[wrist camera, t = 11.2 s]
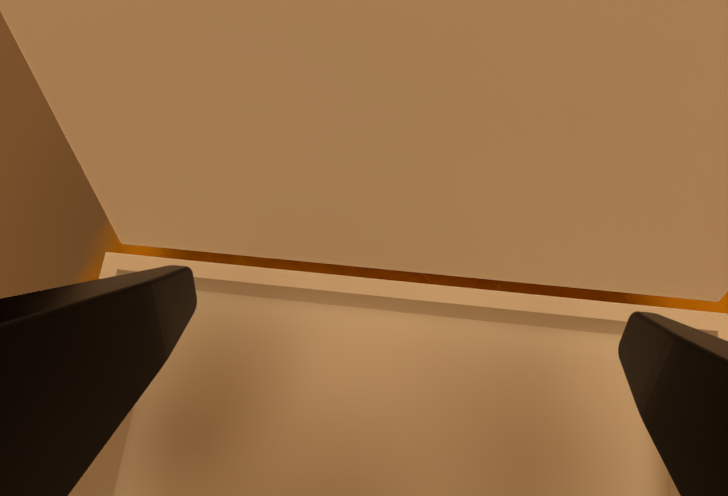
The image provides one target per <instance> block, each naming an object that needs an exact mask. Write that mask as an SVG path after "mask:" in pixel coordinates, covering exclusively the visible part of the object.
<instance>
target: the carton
mask: <svg viewBox="0 0 728 496" xmlns="http://www.w3.org/2000/svg"><path fill="white" fill-rule="evenodd" d="M168 265H179V266H187V267H189V268H191V270H192V272H193V277H194V283H195V289H196V295H197V306H196V310H195V312H194V314H193V316H192V318H191V319H190V321H189V323H188V325H187V326H186V328H185V330H184V332H183V334H182V335H181V337H180V339H179V341H178V342H177V344H176V346H175V348H174V350H173V351H172V353H171V355H170V356H169V358H168V360H167V361H166V362H165V364H164V365H163V367H162V368H161V370H160V371H159V372H158V374H157V375H156V376H155V378H154V379H153V381H152V382H151V383H150V385H149V386H148V387H147V389H146V390H145V391H144V393H143V394H142V396H141V397H140V398H139V400H138V401H137V402H136V404H135V405H134V406H133V408H132V409H131V411H130V412H129V413H128V415H127V416H126V417H125V419H124V420H123V421H122V423H121V424H120V426H119V427H118V428H117V430H116V431H115V432H114V434H113V435H112V436H111V438H110V439H109V441H108V442H107V443H106V445H105V446H104V447H103V449H102V450H101V451H100V453H99V454H98V456H97V457H96V458H95V460H94V461H93V462H92V464H91V465H90V466H89V468H88V469H87V471H86V472H85V473H84V475H83V476H82V477H81V479H80V480H79V481H78V483H77V484H76V486H75V487H74V488H73V490H72V491H71V492H70V494H69V495H68V496H680V494H679V492H678V490H677V488H676V486H675V484H674V482H673V480H672V478H671V476H670V474H669V472H668V470H667V468H666V466H665V464H664V462H663V460H662V458H661V457H660V455H659V453H658V451H657V449H656V447H655V445H654V443H653V441H652V439H651V437H650V435H649V433H648V431H647V429H646V427H645V425H644V423H643V421H642V418H641V416H640V414H639V411H638V409H637V406H636V404H635V401H634V398H633V395H632V393H631V390H630V387H629V384H628V382H627V379H626V376H625V373H624V370H623V368H622V365H621V362H620V359H619V355H618V346H619V342H620V340H621V337H622V334H623V332H624V329H625V327H626V324H627V321H628V319H629V317H630V315H631V314H632V313H633V312H636V311H640V312H650V313H656V314H659V315H662V316H664V317H667V318H669V319H672V320H675V321H677V322H680V323H682V324H685V325H687V326H690V327H693V328H695V329H698V330H700V331H703V332H706V333H708V334H711V335H713V336H716V337H718V338H721V339H724V340H726V341H728V314H726V313H715V312H705V311H695V310H685V309H675V308H665V307H655V306H645V305H635V304H625V303H615V302H605V301H595V300H585V299H574V298H564V297H554V296H544V295H534V294H524V293H514V292H504V291H494V290H484V289H474V288H464V287H454V286H444V285H434V284H423V283H413V282H403V281H393V280H383V279H373V278H363V277H353V276H343V275H333V274H323V273H313V272H303V271H293V270H282V269H272V268H262V267H252V266H242V265H232V264H222V263H212V262H202V261H192V260H182V259H172V258H162V257H152V256H142V255H131V254H121V253H111V252H106V254H105V258H104V261H103V265H102V269H101V273H100V276H99V279H103V278H108V277H113V276H118V275H123V274H128V273H133V272H138V271H143V270H148V269H153V268H158V267H163V266H168Z"/></svg>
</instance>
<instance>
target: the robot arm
mask: <svg viewBox="0 0 728 496" xmlns="http://www.w3.org/2000/svg"><path fill="white" fill-rule="evenodd" d="M196 306H197V295H196V289H195V283H194V277H193V272H192V270H191V268H189V267H187V266H179V265H168V266H163V267H158V268H153V269H148V270H143V271H138V272H133V273H128V274H123V275H118V276H113V277H108V278H103V279H98V280H93V281H88V282H83V283H77V284H72V285H67V286H62V287H57V288H52V289H47V290H43V291H37V292H32V293H27V294H22V295H17V296H12V297H7V298H2V299H0V496H68V495H69V494H70V492H71V491H72V490H73V488H74V487H75V486H76V484H77V483H78V481H79V480H80V479H81V477H82V476H83V475H84V473H85V472H86V471H87V469H88V468H89V466H90V465H91V464H92V462H93V461H94V460H95V458H96V457H97V456H98V454H99V453H100V451H101V450H102V449H103V447H104V446H105V445H106V443H107V442H108V441H109V439H110V438H111V436H112V435H113V434H114V432H115V431H116V430H117V428H118V427H119V426H120V424H121V423H122V421H123V420H124V419H125V417H126V416H127V415H128V413H129V412H130V411H131V409H132V408H133V406H134V405H135V404H136V402H137V401H138V400H139V398H140V397H141V396H142V394H143V393H144V391H145V390H146V389H147V387H148V386H149V385H150V383H151V382H152V381H153V379H154V378H155V376H156V375H157V374H158V372H159V371H160V370H161V368H162V367H163V365H164V364H165V362H166V361H167V360H168V358H169V356H170V355H171V353H172V351H173V350H174V348H175V346H176V344H177V342H178V341H179V339H180V337H181V335H182V334H183V332H184V330H185V328H186V326H187V325H188V323H189V321H190V319H191V318H192V316H193V314H194V312H195V310H196ZM618 355H619V359H620V362H621V365H622V368H623V370H624V373H625V376H626V379H627V382H628V384H629V387H630V390H631V393H632V395H633V398H634V401H635V404H636V406H637V409H638V411H639V414H640V416H641V418H642V421H643V423H644V425H645V427H646V429H647V431H648V433H649V435H650V437H651V439H652V441H653V443H654V445H655V447H656V449H657V451H658V453H659V455H660V457H661V458H662V460H663V462H664V464H665V466H666V468H667V470H668V472H669V474H670V476H671V478H672V480H673V482H674V484H675V486H676V488H677V490H678V492H679V494H680V496H728V341H726V340H724V339H721V338H718V337H716V336H713V335H711V334H708V333H706V332H703V331H700V330H698V329H695V328H693V327H690V326H687V325H685V324H682V323H680V322H677V321H675V320H672V319H669V318H667V317H664V316H662V315H659V314H656V313H650V312H640V311H636V312H633V313H632V314H631V315H630V317H629V319H628V321H627V324H626V327H625V329H624V332H623V334H622V337H621V340H620V342H619V346H618Z"/></svg>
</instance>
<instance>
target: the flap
mask: <svg viewBox="0 0 728 496" xmlns="http://www.w3.org/2000/svg"><path fill="white" fill-rule="evenodd" d="M0 11H1V13H2V15H3V17H4V19H5V21H6V23H7V25H8V27H9V28H10V31H11V32H12V34H13V36H14V38H15V40H16V42H17V44H18V46H19V48H20V50H21V52H22V54H23V56H24V57H25V59H26V61H27V63H28V65H29V67H30V69H31V71H32V73H33V75H34V76H35V79H36V81H37V83H38V84H39V86H40V88H41V90H42V92H43V94H44V96H45V98H46V100H47V102H48V104H49V106H50V108H51V109H52V111H53V113H54V115H55V117H56V119H57V121H58V123H59V125H60V127H61V129H62V131H63V133H64V135H65V136H66V138H67V140H68V142H69V144H70V146H71V148H72V150H73V152H74V154H75V156H76V158H77V159H78V161H79V163H80V165H81V167H82V169H83V171H84V173H85V175H86V177H87V179H88V181H89V183H90V184H91V187H92V188H93V190H94V192H95V194H96V196H97V198H98V200H99V202H100V204H101V206H102V208H103V209H104V211H105V213H106V215H107V217H108V219H109V221H110V223H111V225H112V227H113V229H114V231H115V233H116V235H117V237H118V238H119V240H120V242H121V244H129V245H139V246H150V247H160V248H170V249H180V250H191V251H201V252H211V253H222V254H232V255H242V256H252V257H263V258H273V259H283V260H294V261H304V262H314V263H324V264H335V265H345V266H355V267H366V268H376V269H386V270H396V271H407V272H417V273H427V274H438V275H448V276H458V277H468V278H479V279H489V280H499V281H510V282H520V283H530V284H540V285H551V286H561V287H571V288H582V289H592V290H602V291H612V292H623V293H633V294H643V295H654V296H664V297H674V298H684V299H695V300H705V301H715V302H719V301H720V299H721V298H722V297H723V296H724V295H725V294H726V292H727V291H728V0H0Z"/></svg>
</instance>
